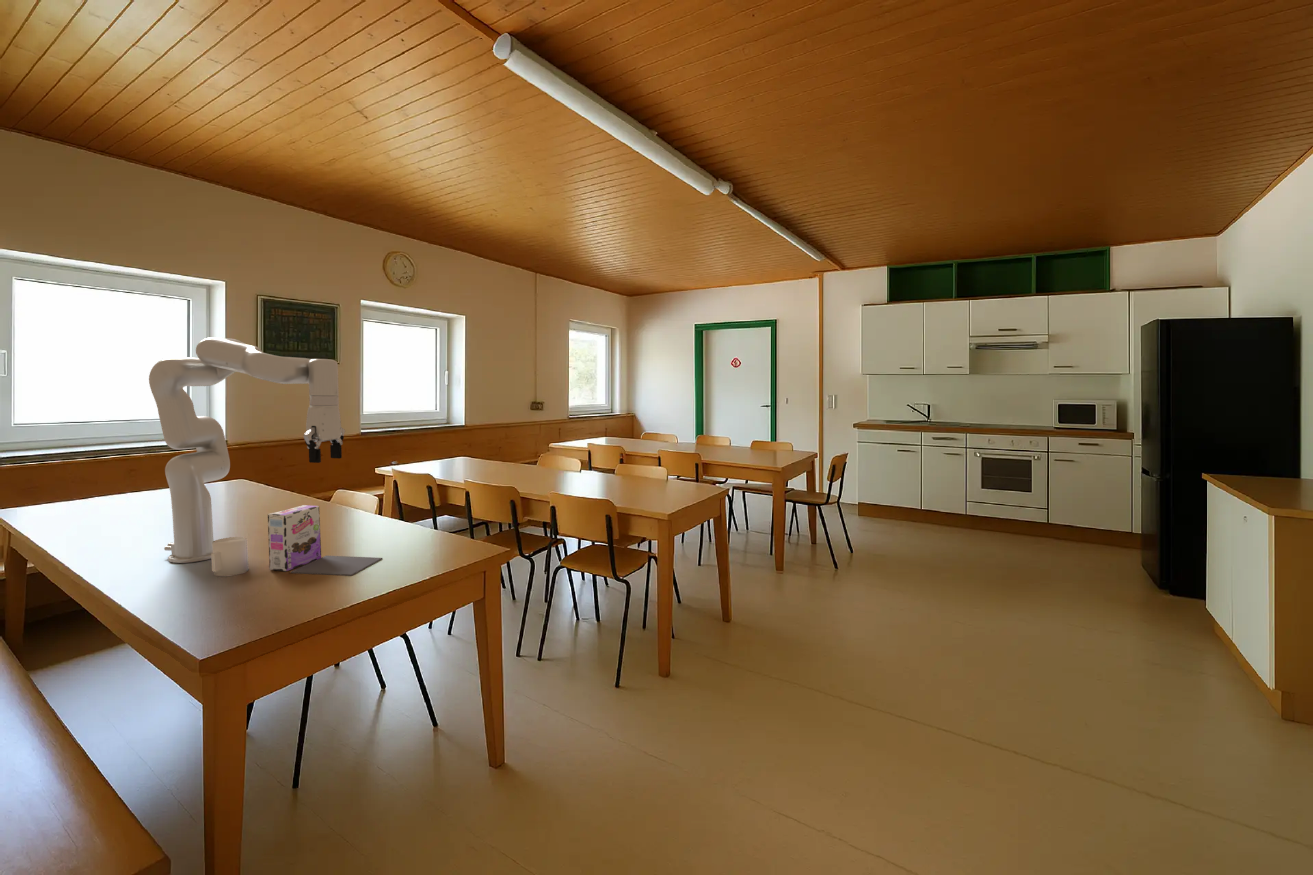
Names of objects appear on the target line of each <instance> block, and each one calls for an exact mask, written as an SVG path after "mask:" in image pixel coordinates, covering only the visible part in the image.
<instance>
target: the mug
mask: <svg viewBox="0 0 1313 875" xmlns="http://www.w3.org/2000/svg"><path fill="white" fill-rule="evenodd" d="M212 548H213V553H211V559H210V560H211V571H212V572H213V575H214V576H216V577H231V576H237V575H240V574H245V573H247V572H248V571H249V555H248V554H249V552H248V551H249V550H248V538H247V537H246V536H245V537H244V536H230V537H224V538H219V539H216V540H214V541H213V542H212Z"/></svg>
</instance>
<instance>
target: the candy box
mask: <svg viewBox="0 0 1313 875" xmlns="http://www.w3.org/2000/svg"><path fill="white" fill-rule="evenodd" d="M320 513H321V512H320V506H319V505H309V504H308V505H306V504H302V505H300V506H299V505H298V506H295V507H292V508H289V509H288V508H287V509H284V510H280V511H276V512H271V513H267V532H268V535H267V536H268V559H269V560H268V561H269V564H268V565H269V566H268V567H269V570H271V571H281V572H288V571H292V570H295V569H298V568H300V567H302V566H304V565H306V564H309V563H311V562H313V561H315V560H318V559H320V558H322V544H321V543H322V541H321V520H320V519H321V518H320V517H321V516H320Z"/></svg>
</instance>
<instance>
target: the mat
mask: <svg viewBox="0 0 1313 875" xmlns="http://www.w3.org/2000/svg"><path fill="white" fill-rule="evenodd" d="M382 560H383V557H369V556H368V557H367V556H349V555H347V556H346V555H344V556H343V555H324V556H321V558H320V559H318V560H315V561H312V562H310V563H307V564H304V565H302V566H299V567H297V568H294V569H292V570H290V574H302V575H304V574H305V575H326V576H345V577H346V576H348V577H349V576H350V577H352V576H354V575H356V574H357V573H360V572H362V571H363V570H365V569H367V568H369V567H371V566H372V565H374V564H377V563H378V562H380V561H382Z"/></svg>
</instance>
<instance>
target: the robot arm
mask: <svg viewBox="0 0 1313 875" xmlns="http://www.w3.org/2000/svg"><path fill="white" fill-rule="evenodd" d="M195 354H196V356H197V357H188V356H187V357H184V356H182V357H181V356H180V357H179V356H178V357H177V356H176V357H175V356H173V357H168V358H164V359H163V358H162V359H161V360H159V361H158V362H155V364H154V365H153V366H152V367H151V369H150V372H149V375H148V382H149V387H150V388H149V389H150V391H151V394H152V396H153V399H154V401H155V404H156V408H157V412H158V417H159V422H160V425H161V426H160V427H161V431H162V435H163V439H164V441H165V443H166V445H167V446H168V447H169V448H171V449H173V450H188V449H189V450H190V449H191V450H192V449H196V452H189V453H183V454H179V455H176V456H173V457H172V458H171V459H170V460H168V462H167V463H166V465H165V467H164V474H165V477H166V482H167V485H168V487H169V488H168V489H169V492H170V493H169V494H170V502H171V513H172V515H171V516H172V528H173V529H172V530H173V531H172V532H173V542H168V543H167V544H166V545H165V546H164V548H163V549H164V551H169V552H170V551H171V554H170V555H169V556H168V561H169V562H170V563H174V564H185V563H186V564H187V563H189V564H190V563H195V562H204V561H207V560H211V553H213V548H212V542H213V541H215V540H214V526H213V524H214V523H213V522H214V521H213V509H212V505H213V504H212V496H211V493H210V491H209V490H208V488H207V487H206V485H205V484H206V483H209V482H215V481H218V480H221V479H223V478H225V477H226V476H227V475H228V474H229V472H230V468H231V460H230V454H229V450H228V446H227V442H226V437H225V433H224V429H223V427H222V425H221V424H220V423H219V421H217V420H216V419H215V418H213V417H211V416H208V415H207V416H206V415H199V416H198V415H196V410H195V405H194V402H193V400H192V399H191V397H190V395H189V394H188V393H187V392H186V391H185V389H184V388H185V387H211V386H214V385H216V384H219V383H220V382H222V381H224V380H225V379H226V378H228V377H231V375H233V374H234V373H236V372H237V373H241V374H245V375H248V376H249V377H252V378H255V379H258V380H262V381H267V382H272V383H275V384H282V385H283V384H284V385H289V384H290V385H294V384H295V385H297V384H298V385H304V384H308V394H309V395H308V397H309V398H308V399H309V406H308V408H307V414H306V423H305V432H304V434H303V436H302V437H303V439H304V441H305V442H304V444H306V448H307V449H308V461H309V463H312V464H314V463H315V464H320V463H322V458H321V457H322V455H321V454H322V453H321V452H322V450H321V448H320V446H321V444H322V442H330V443H331V444H330V445H329V448H330V458H331V459H342V458H343V456H342V455H343V454H342V453H343V452H342V449H343V447H342V445H343V444H344V443H343V440H344V438H345V432H346V430H345V428H343V427H342V420H341V413H340V398H339V397H340V396H339V393H340V392H339V365H338V364H339V363H338V361H336V360H334V359H328V358H308V357H307V358H306V357H294V356H293V357H292V356H279V355H276V354H275V355H274V354H271V353H270V354H269V353H266V352H263V351H262V349H261V348H260V347H258V346H257V345H251V344H246V343H245V342H243V341H241V340H239V339H235V338H227V337H226V338H225V337H216V336H215V337H207V338H204V339H202V340H200V341H199V342H198V343H197V344H196V347H195Z"/></svg>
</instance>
